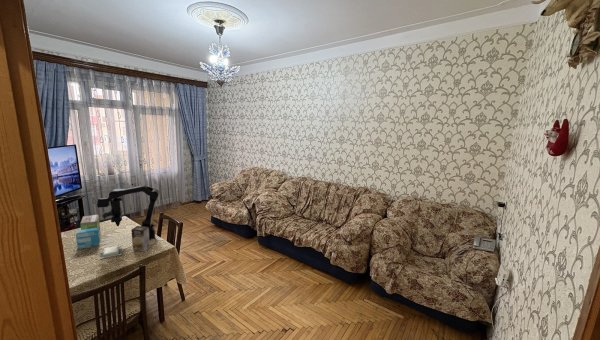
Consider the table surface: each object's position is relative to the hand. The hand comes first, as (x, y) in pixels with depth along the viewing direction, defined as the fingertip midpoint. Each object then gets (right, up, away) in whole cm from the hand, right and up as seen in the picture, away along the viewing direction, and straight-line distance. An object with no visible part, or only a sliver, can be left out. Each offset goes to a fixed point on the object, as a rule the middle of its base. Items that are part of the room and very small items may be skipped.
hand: (117, 226), depth 187 cm
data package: (-17, -13, -5) cm, 22 cm away
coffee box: (+21, -15, -5) cm, 26 cm away
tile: (+2, -13, -9) cm, 16 cm away
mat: (+5, -16, -14) cm, 22 cm away
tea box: (-26, -10, +8) cm, 29 cm away
